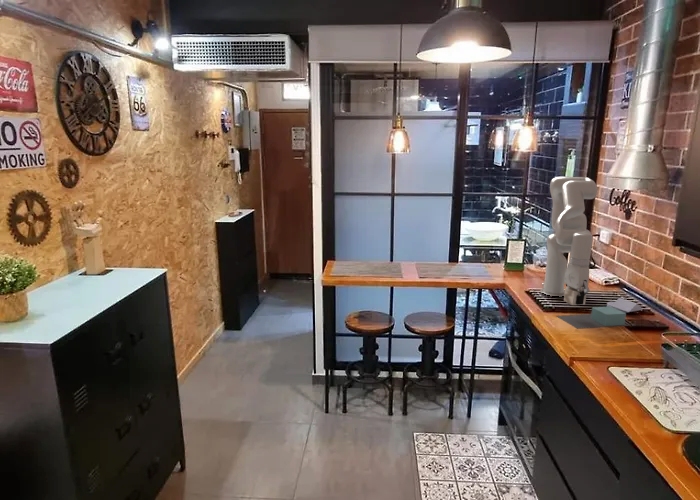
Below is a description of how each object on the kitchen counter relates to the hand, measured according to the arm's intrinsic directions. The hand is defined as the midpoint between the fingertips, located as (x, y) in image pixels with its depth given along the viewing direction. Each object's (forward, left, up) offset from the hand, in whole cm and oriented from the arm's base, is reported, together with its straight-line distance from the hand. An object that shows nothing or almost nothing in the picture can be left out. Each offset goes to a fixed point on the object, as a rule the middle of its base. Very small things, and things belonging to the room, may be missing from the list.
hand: (574, 301), depth 198 cm
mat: (+5, +6, -8) cm, 11 cm away
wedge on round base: (-4, +28, -9) cm, 29 cm away
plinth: (+7, +12, -7) cm, 15 cm away
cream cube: (0, 0, -1) cm, 1 cm away
